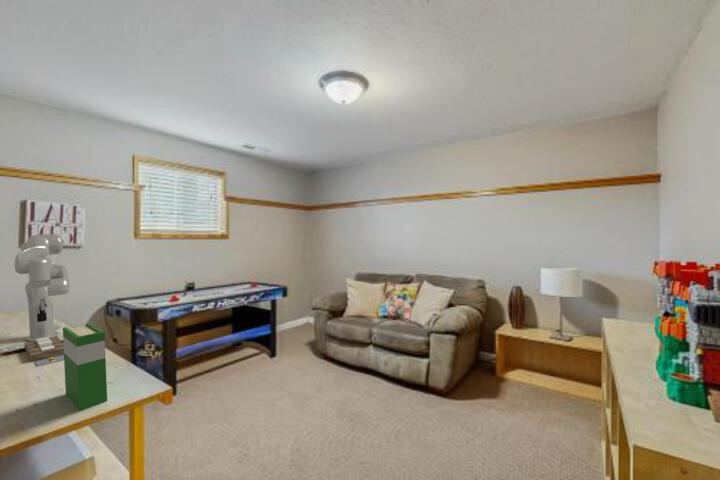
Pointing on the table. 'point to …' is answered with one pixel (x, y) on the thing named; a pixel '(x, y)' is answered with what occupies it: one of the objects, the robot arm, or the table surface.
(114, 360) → the table surface
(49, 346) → the button
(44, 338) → the button
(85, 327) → the hardback book
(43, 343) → the button middle
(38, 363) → the card
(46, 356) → the button board
